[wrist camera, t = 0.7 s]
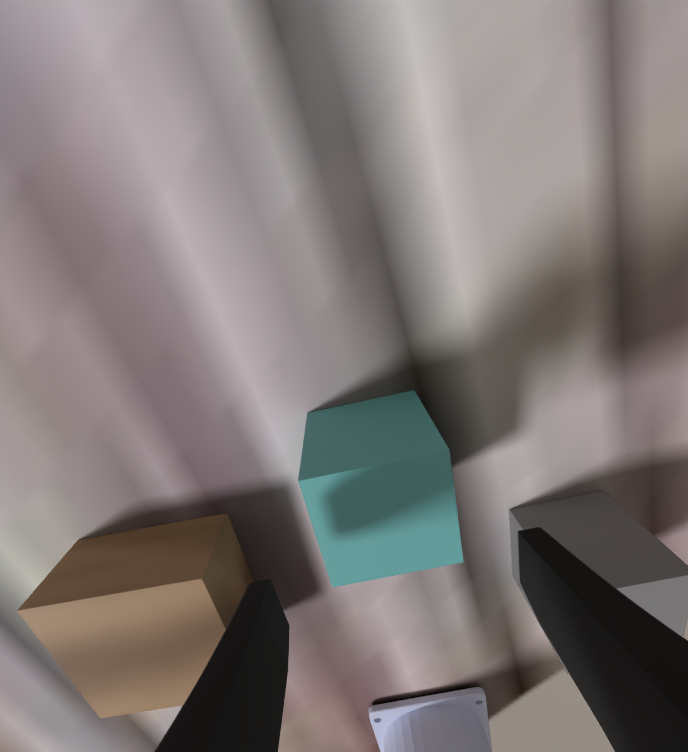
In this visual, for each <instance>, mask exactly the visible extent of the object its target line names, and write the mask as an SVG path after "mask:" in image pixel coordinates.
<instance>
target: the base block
mask: <svg viewBox="0 0 688 752" xmlns="http://www.w3.org/2000/svg"><path fill="white" fill-rule="evenodd" d="M253 582H254V579H253V577H252V574H251V572H250V569H249V566H248V564H247V561H246V559H245V556H244V554H243V551H242V549H241V546H240V544H239V541H238V539H237V536H236V533H235V531H234V528H233V526H232V523H231V521H230V518H229V516H228V513H223V514H218V515H212V516H207V517H201V518H196V519H190V520H185V521H179V522H174V523H168V524H163V525H158V526H152V527H147V528H141V529H136V530H130V531H125V532H119V533H114V534H108V535H103V536H97V537H92V538H86V539H81V540H78V541H77V542H76V543H75V544H74V545H73V546H72V548H71V549H70V550H69V551H68V552H67V553H66V555H65V556H64V557H63V558H62V559H61V560H60V562H59V563H58V564H57V565H56V566H55V567H54V568H53V570H52V571H51V572H50V573H49V574H48V575H47V577H46V578H45V579H44V580H43V581H42V582H41V584H40V585H39V586H38V587H37V588H36V589H35V591H34V592H33V593H32V594H31V595H30V596H29V598H28V599H27V600H26V601H25V602H24V603H23V605H22V606H21V607H20V608H19V609H18V610H17V611H18V613H19V614H20V615H21V616H22V618H23V619H24V620H25V622H26V623H27V624H28V626H29V627H30V628H31V629H32V631H33V632H34V633H35V635H36V636H37V637H38V638H39V640H40V641H41V642H42V644H43V645H44V646H45V647H46V649H47V650H48V651H49V653H50V654H51V655H52V656H53V658H54V659H55V660H56V662H57V663H58V664H59V666H60V667H61V668H62V669H63V671H64V672H65V673H66V675H67V676H68V677H69V678H70V680H71V681H72V682H73V684H74V685H75V686H76V687H77V689H78V690H79V691H80V693H81V694H82V695H83V697H84V698H85V699H86V700H87V702H88V703H89V704H90V706H91V707H92V708H93V709H94V711H95V712H96V713H97V715H98V716H99V717H100V718H106V717H113V716H119V715H125V714H131V713H137V712H144V711H150V710H156V709H162V708H168V707H174V706H181V705H184V703H185V701H186V700H187V698H188V696H189V695H190V693H191V691H192V689H193V688H194V686H195V684H196V683H197V681H198V679H199V677H200V676H201V674H202V672H203V670H204V669H205V667H206V665H207V663H208V661H209V659H210V658H211V656H212V654H213V652H214V650H215V648H216V647H217V645H218V643H219V641H220V639H221V637H222V635H223V634H224V632H225V630H226V628H227V626H228V624H229V622H230V620H231V618H232V616H233V614H234V612H235V610H236V608H237V606H238V604H239V603H240V601H241V599H242V597H243V595H244V593H245V591H246V589H247V587H248V585H249V584H250V583H253Z"/></svg>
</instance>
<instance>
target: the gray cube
mask: <svg viewBox="0 0 688 752" xmlns="http://www.w3.org/2000/svg"><path fill="white" fill-rule="evenodd" d="M509 519H510V537H511V556H512V574H513V577H514V579H515V581H516V583H517V585H518V586H519V588H520V590H521V592H522V593H523V595H524V597H525V599H526V601H527V602H528V604H529V606H530V608H531V610H532V611H533V609H532V607H531V605H530V603H529V601H528V598H527V596H526V594H525V592H524V590H523V588H522V586H521V583H520V575H519V550H518V531H520V530H525V529H531V528H536V527H540V528H542V529H543V530H545V531H546V532H547V533H548V534H549V535H551V536H552V537H553V538H554V539H555V540H557V541H558V542H559V543H560V544H561V545H563V546H564V547H565V548H566V549H567V550H569V551H570V552H571V553H572V554H573V555H575V556H576V557H577V558H578V559H580V560H581V561H582V562H583V563H584V564H586V565H587V566H588V567H589V568H591V569H592V570H593V571H594V572H596V573H597V574H598V575H599V576H601V577H602V578H603V579H604V580H606V581H607V582H608V583H610V584H611V585H612V586H614V587H615V588H616V589H618V590H619V591H620V592H621V593H623V594H624V595H625V596H627V597H628V598H629V599H631V600H632V601H633V602H635V603H636V604H637V605H639V606H640V607H641V608H643V609H644V610H645V611H647V612H648V613H649V614H651V615H652V616H654V617H655V618H656V619H658V620H659V621H661V622H662V623H663V624H665V625H666V626H668V627H669V628H670V629H672V630H673V631H675V632H676V633H677V634H679V635H680V636H682V637H683V635H684V631H685V626H686V622H687V617H688V565H687V564H685V563H684V562H683V561H682V560H681V559H680V558H679V557H678V556H676V555H675V554H674V553H673V552H672V551H671V550H670V549H669V548H667V547H666V546H665V545H664V544H663V543H662V542H661V541H660V540H658V539H657V538H656V537H655V536H654V535H653V534H652V533H651V532H649V531H648V530H647V529H646V528H645V527H644V526H643V525H642V524H640V523H639V522H638V521H637V520H636V519H635V518H634V517H633V516H631V515H630V514H629V513H628V512H627V511H626V510H625V509H624V508H622V507H621V506H620V505H619V504H618V503H617V502H616V501H614V500H613V499H612V498H611V497H610V496H609V495H608V494H607V493H605V492H604V491H599V492H594V493H589V494H584V495H578V496H573V497H568V498H563V499H558V500H553V501H548V502H543V503H538V504H533V505H528V506H523V507H518V508H512V509H509ZM533 613H534V611H533ZM534 615H535V613H534ZM535 617H536V615H535ZM536 619H537V617H536ZM537 620H538V619H537ZM538 622H539V621H538ZM539 624H540V623H539ZM540 626H541V625H540ZM541 628H542V627H541ZM542 629H543V628H542ZM543 631H544V630H543ZM544 633H545V632H544ZM545 635H546V633H545ZM546 636H547V635H546ZM547 638H548V637H547ZM548 640H549V639H548ZM549 642H550V640H549ZM550 644H551V642H550ZM551 645H552V644H551ZM552 647H553V645H552ZM553 649H554V647H553ZM554 651H555V653H556V654H557V652H556V650H555V649H554ZM557 656H558V658H559V660H560V662H561V663H562V665H563V667H564V669H565V671H566V672H567V673H569V672H568V670H567V669H566V667H565V665H564V664H563V662H562V660H561V659H560V657H559V655H558V654H557Z"/></svg>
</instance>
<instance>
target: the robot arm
mask: <svg viewBox="0 0 688 752" xmlns="http://www.w3.org/2000/svg"><path fill="white" fill-rule="evenodd" d="M518 550H519V575H520V583H521V586H522V588H523V590H524V592H525V594H526V596H527V598H528V601H529V603H530V605H531V607H532V609H533V611H534V613H535V615H536V617H537V619H538V621H539V623H540V625H541V627H542V628H543V630H544V632H545V633H546V635H547V637H548V639H549V640H550V642H551V644H552V645H553V647H554V649H555V650H556V652H557V654H558V655H559V657H560V659H561V660H562V662H563V664H564V665H565V667H566V669H567V670H568V672H569V674H570V675H571V677H572V679H573V680H574V682H575V684H576V685H577V687H578V689H579V690H580V692H581V694H582V695H583V697H584V699H585V700H586V702H587V704H588V705H589V707H590V709H591V710H592V712H593V714H594V715H595V717H596V719H597V721H598V722H599V724H600V726H601V727H602V729H603V731H604V732H605V734H606V736H607V738H608V740H609V741H610V743H611V745H612V747H613V749H614V750H615V752H688V641H687V640H686V639H684V638H683V637H682V636H680V635H679V634H677V633H676V632H675V631H673V630H672V629H670V628H669V627H668V626H666V625H665V624H663V623H662V622H661V621H659V620H658V619H656V618H655V617H654V616H652V615H651V614H649V613H648V612H647V611H645V610H644V609H643V608H641V607H640V606H639V605H637V604H636V603H635V602H633V601H632V600H631V599H629V598H628V597H627V596H625V595H624V594H623V593H621V592H620V591H619V590H618V589H616V588H615V587H614V586H612V585H611V584H610V583H608V582H607V581H606V580H604V579H603V578H602V577H601V576H599V575H598V574H597V573H596V572H594V571H593V570H592V569H591V568H589V567H588V566H587V565H586V564H584V563H583V562H582V561H581V560H580V559H578V558H577V557H576V556H575V555H573V554H572V553H571V552H570V551H569V550H567V549H566V548H565V547H564V546H563V545H561V544H560V543H559V542H558V541H557V540H555V539H554V538H553V537H552V536H551V535H549V534H548V533H547V532H546V531H545V530H543V529H542V528H540V527H536V528H531V529H525V530H520V531H518ZM288 655H289V624H288V621H287V619H286V616H285V614H284V611H283V609H282V606H281V604H280V602H279V599H278V597H277V594H276V592H275V589H274V587H273V584H272V582H271V580H270V579H268V580H263V581H258V582H253V583H250V584H249V585H248V587H247V589H246V591H245V593H244V595H243V597H242V599H241V601H240V603H239V604H238V606H237V608H236V610H235V612H234V614H233V616H232V618H231V620H230V622H229V624H228V626H227V628H226V630H225V632H224V634H223V635H222V637H221V639H220V641H219V643H218V645H217V647H216V648H215V650H214V652H213V654H212V656H211V658H210V659H209V661H208V663H207V665H206V667H205V669H204V670H203V672H202V674H201V676H200V677H199V679H198V681H197V683H196V684H195V686H194V688H193V689H192V691H191V693H190V695H189V696H188V698H187V700H186V701H185V703H184V705H183V706H182V708H181V710H180V711H179V713H178V715H177V716H176V718H175V720H174V721H173V723H172V725H171V726H170V728H169V729H168V731H167V733H166V734H165V736H164V737H163V739H162V741H161V742H160V744H159V745H158V747H157V748H156V750H155V752H278V746H279V738H280V730H281V722H282V714H283V706H284V698H285V690H286V682H287V673H288ZM369 718H370V721H371V724H372V727H373V730H374V733H375V736H376V739H377V742H378V745H379V748H380V751H381V752H492V748H491V739H490V730H489V721H488V712H487V703H486V695H485V693H484V690H483V689H482V688H481V687H473V688H468V689H462V690H457V691H451V692H445V693H440V694H434V695H429V696H423V697H417V698H412V699H406V700H400V701H395V702H389V703H384V704H378V705H373V706H371V707H370V708H369Z"/></svg>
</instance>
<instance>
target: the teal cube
mask: <svg viewBox="0 0 688 752" xmlns="http://www.w3.org/2000/svg"><path fill="white" fill-rule="evenodd" d="M298 482H299V485H300V488H301V491H302V494H303V497H304V500H305V504H306V507H307V510H308V513H309V516H310V519H311V522H312V525H313V529H314V532H315V535H316V538H317V541H318V544H319V547H320V550H321V553H322V557H323V560H324V563H325V566H326V569H327V572H328V575H329V578H330V581H331V585H332V587H337V586H342V585H347V584H352V583H357V582H363V581H368V580H373V579H378V578H384V577H389V576H394V575H399V574H404V573H410V572H415V571H420V570H425V569H430V568H436V567H441V566H446V565H451V564H457V563H462V562H463V556H462V547H461V539H460V531H459V523H458V515H457V507H456V499H455V490H454V482H453V474H452V466H451V458H450V450H449V448H448V447H447V445H446V443H445V441H444V440H443V438H442V436H441V435H440V433H439V431H438V430H437V428H436V426H435V424H434V423H433V421H432V419H431V418H430V416H429V414H428V413H427V411H426V409H425V407H424V406H423V404H422V402H421V401H420V399H419V397H418V396H417V394H416V392H415V391H414V390H412V391H407V392H403V393H398V394H393V395H389V396H384V397H379V398H374V399H370V400H365V401H360V402H356V403H351V404H346V405H342V406H337V407H332V408H328V409H323V410H318V411H313V412H309V413H307V420H306V427H305V435H304V442H303V449H302V457H301V464H300V472H299V479H298Z"/></svg>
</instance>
